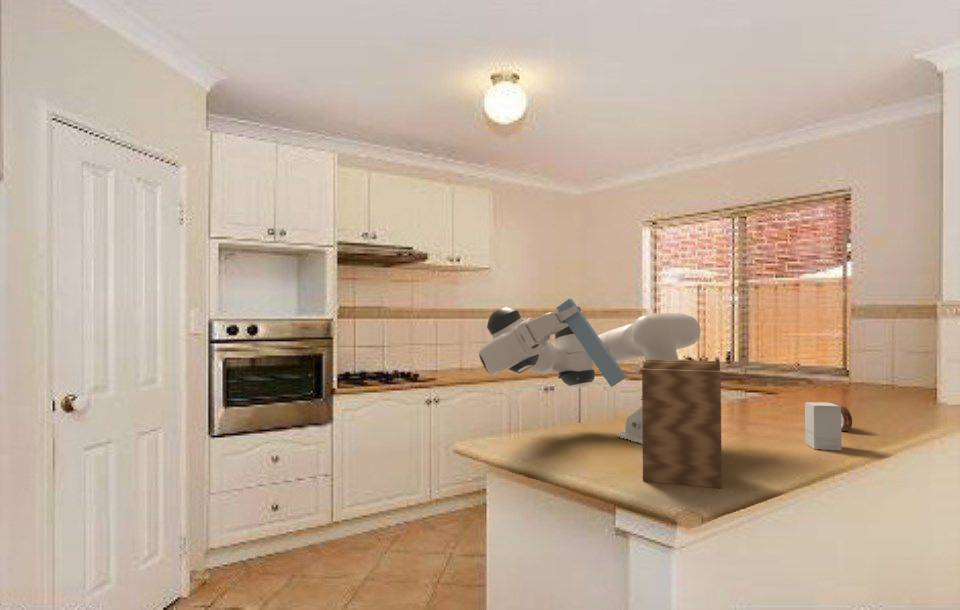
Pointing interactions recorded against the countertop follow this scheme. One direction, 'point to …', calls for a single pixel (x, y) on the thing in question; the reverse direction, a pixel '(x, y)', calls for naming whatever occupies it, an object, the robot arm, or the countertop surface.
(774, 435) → the countertop surface
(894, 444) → the countertop surface
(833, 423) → the supplement box
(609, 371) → the bar
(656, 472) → the stand
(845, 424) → the brown curved piece
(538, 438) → the countertop surface
